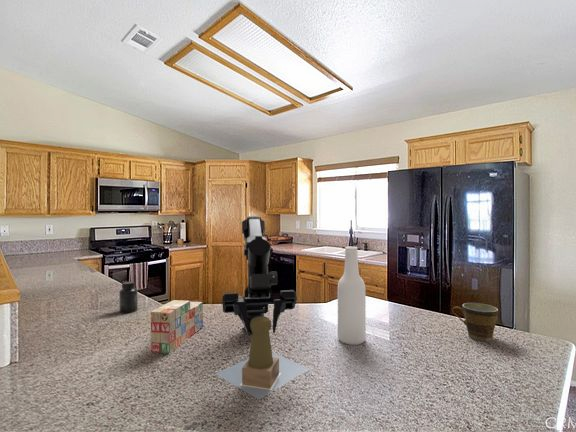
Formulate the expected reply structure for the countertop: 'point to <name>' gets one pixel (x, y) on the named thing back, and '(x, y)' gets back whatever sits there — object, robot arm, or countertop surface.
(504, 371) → the countertop surface
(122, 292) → the supplement bottle
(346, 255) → the alcohol
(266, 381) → the walnut block
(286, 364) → the mat
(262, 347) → the olive pawn
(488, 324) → the ceramic cup
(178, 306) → the stack of blocks
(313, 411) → the countertop surface
